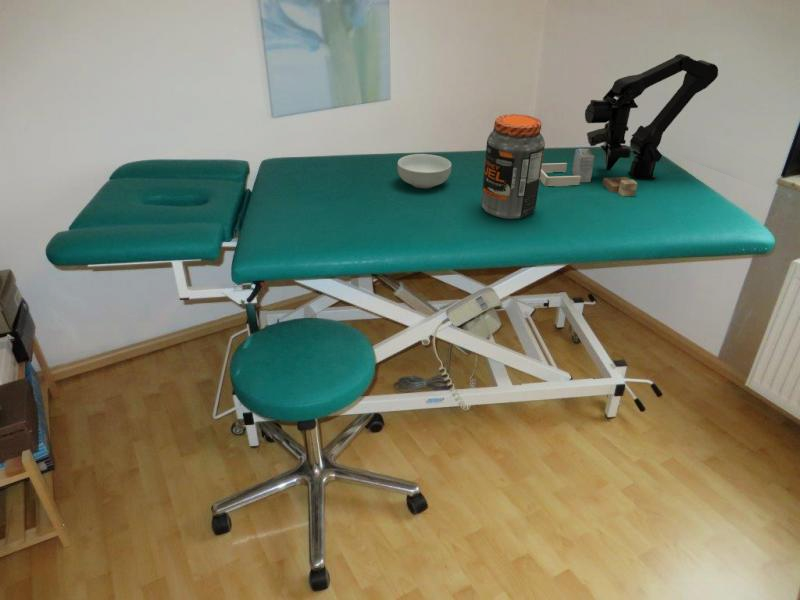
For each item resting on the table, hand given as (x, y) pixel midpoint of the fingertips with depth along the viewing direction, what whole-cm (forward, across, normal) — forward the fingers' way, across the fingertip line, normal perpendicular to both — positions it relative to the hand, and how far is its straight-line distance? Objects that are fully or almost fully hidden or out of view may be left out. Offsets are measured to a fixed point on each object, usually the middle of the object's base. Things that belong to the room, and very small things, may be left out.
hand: (607, 170), depth 196 cm
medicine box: (+3, +1, -9) cm, 9 cm away
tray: (+3, +2, -17) cm, 17 cm away
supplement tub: (+3, +28, -35) cm, 45 cm away
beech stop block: (+3, +14, +3) cm, 14 cm away
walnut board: (+3, +8, +2) cm, 9 cm away
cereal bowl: (+3, +10, -60) cm, 61 cm away
